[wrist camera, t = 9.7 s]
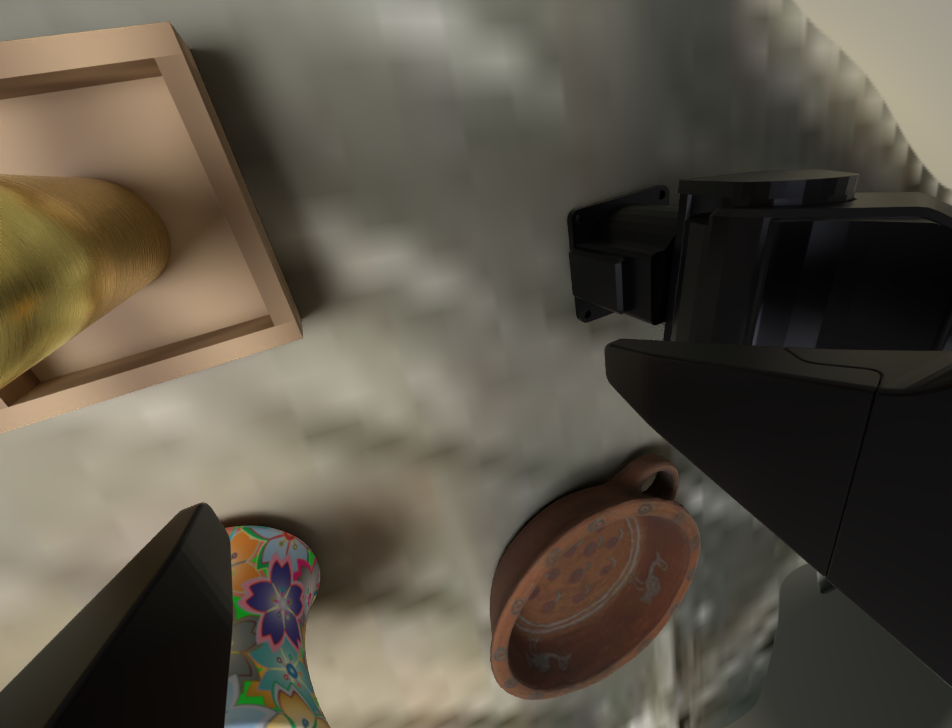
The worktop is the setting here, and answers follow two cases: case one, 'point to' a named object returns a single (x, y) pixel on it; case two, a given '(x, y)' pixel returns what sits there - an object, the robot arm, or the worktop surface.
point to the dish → (591, 582)
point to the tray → (165, 188)
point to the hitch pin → (69, 260)
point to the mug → (271, 631)
